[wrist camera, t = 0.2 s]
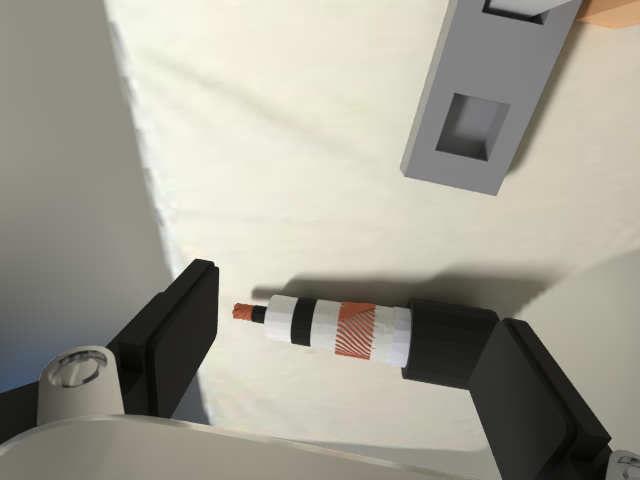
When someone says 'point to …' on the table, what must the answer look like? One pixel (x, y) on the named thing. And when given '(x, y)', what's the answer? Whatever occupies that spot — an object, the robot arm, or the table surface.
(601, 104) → the table surface
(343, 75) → the table surface
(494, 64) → the power strip
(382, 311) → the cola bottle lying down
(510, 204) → the table surface
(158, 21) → the table surface
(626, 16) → the plug
